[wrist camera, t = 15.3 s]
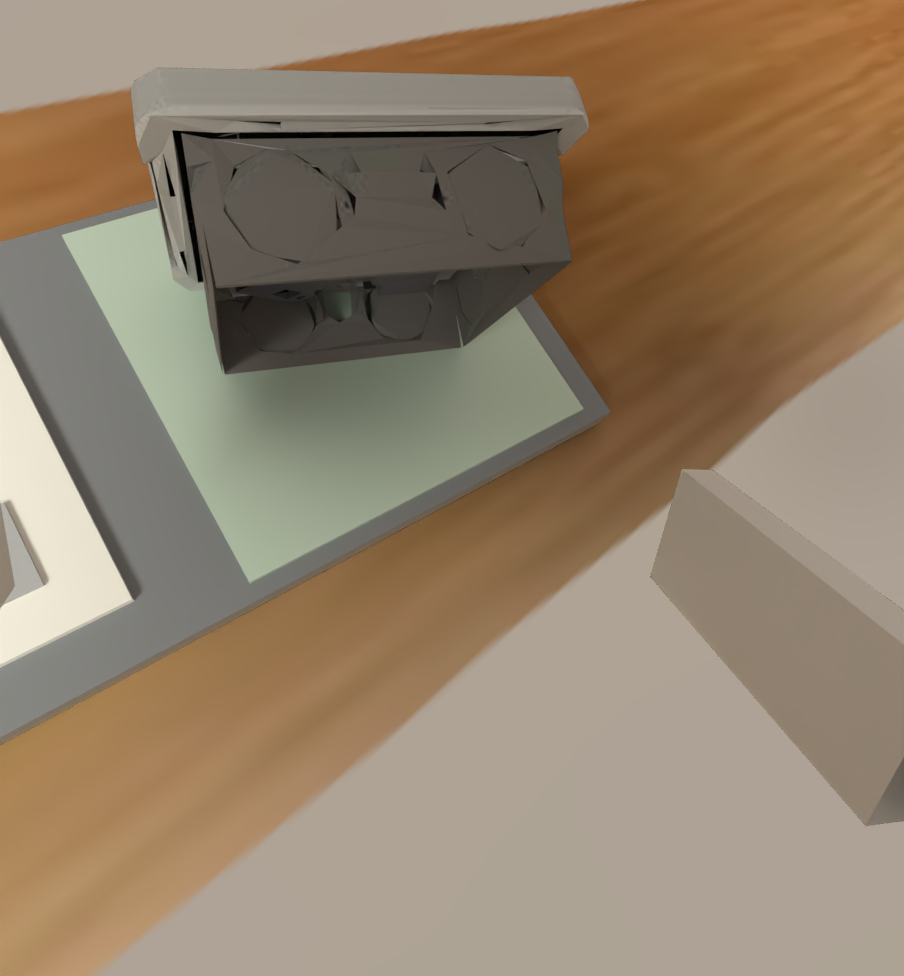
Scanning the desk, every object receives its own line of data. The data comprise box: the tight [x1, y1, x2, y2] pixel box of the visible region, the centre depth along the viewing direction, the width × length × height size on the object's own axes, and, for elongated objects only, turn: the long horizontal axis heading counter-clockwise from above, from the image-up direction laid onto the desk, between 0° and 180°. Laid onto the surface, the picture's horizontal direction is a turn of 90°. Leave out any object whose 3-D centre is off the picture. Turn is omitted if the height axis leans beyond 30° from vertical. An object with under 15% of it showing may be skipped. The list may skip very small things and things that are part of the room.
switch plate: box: [0, 199, 611, 745], centre depth 20 cm, size 22×13×1 cm, turn 122°
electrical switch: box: [131, 68, 589, 375], centre depth 17 cm, size 9×5×9 cm, turn 105°
